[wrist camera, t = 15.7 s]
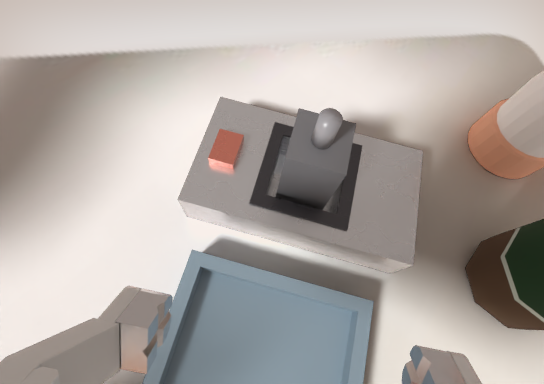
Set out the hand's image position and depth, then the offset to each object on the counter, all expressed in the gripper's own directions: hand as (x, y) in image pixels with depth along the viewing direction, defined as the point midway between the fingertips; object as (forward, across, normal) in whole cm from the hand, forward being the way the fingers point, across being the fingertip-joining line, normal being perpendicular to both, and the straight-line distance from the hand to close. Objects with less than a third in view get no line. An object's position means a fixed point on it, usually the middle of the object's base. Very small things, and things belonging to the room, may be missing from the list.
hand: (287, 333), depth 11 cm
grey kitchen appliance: (+19, 0, +2) cm, 19 cm away
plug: (+18, 0, +1) cm, 18 cm away
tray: (+8, +1, +13) cm, 15 cm away
